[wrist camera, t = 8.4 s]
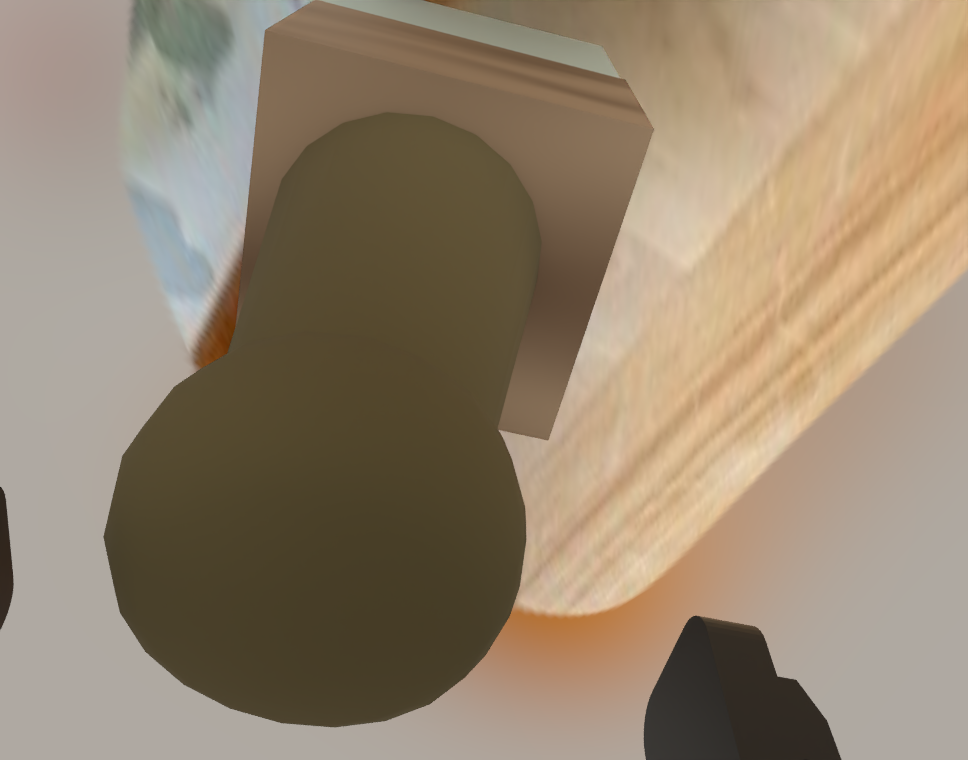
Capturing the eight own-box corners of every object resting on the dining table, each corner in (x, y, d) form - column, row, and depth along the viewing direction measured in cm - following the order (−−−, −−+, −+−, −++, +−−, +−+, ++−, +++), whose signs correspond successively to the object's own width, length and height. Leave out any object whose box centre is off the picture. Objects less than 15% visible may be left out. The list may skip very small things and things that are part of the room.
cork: (400, 410, 21) (305, 852, 12) (213, 233, 19) (-93, 606, 9) (597, 266, 19) (675, 669, 9) (411, 47, 16) (273, 292, 7)
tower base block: (344, -20, 25) (310, 0, 21) (601, 45, 26) (620, 78, 22) (311, 228, 29) (276, 288, 25) (535, 278, 30) (539, 345, 26)
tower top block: (315, -1, 21) (265, 30, 17) (625, 79, 22) (654, 129, 17) (279, 287, 25) (230, 372, 21) (541, 346, 26) (548, 440, 21)
